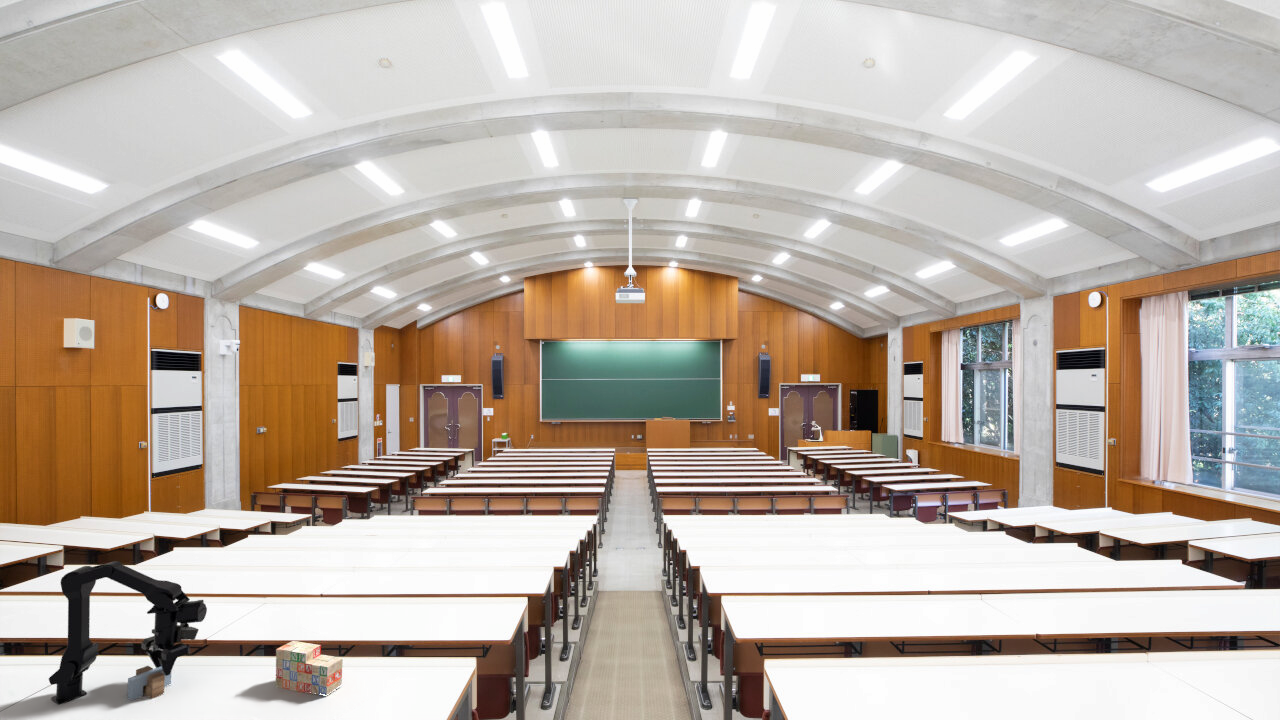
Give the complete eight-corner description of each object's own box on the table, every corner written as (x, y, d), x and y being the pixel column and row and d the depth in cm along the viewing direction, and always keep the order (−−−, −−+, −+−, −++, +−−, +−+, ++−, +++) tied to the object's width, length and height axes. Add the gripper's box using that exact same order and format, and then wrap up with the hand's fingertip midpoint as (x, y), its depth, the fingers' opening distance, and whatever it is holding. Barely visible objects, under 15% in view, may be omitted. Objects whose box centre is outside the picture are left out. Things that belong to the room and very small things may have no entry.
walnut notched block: (135, 688, 177) (136, 669, 177) (147, 684, 180) (147, 665, 180) (152, 698, 171) (152, 679, 172) (163, 693, 174) (164, 674, 174)
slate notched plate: (131, 700, 170) (132, 680, 171) (127, 697, 172) (128, 678, 172) (170, 684, 179) (171, 666, 179) (166, 682, 181) (167, 664, 181)
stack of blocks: (342, 687, 178) (343, 648, 178) (326, 697, 172) (327, 657, 172) (292, 677, 184) (293, 639, 185) (274, 686, 178) (275, 648, 179)
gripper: (208, 621, 182) (207, 669, 181) (182, 610, 191) (180, 656, 190) (167, 634, 172) (165, 685, 172) (141, 622, 181) (139, 670, 181)
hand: (164, 673), depth 179 cm, fingers open, 5 cm apart
